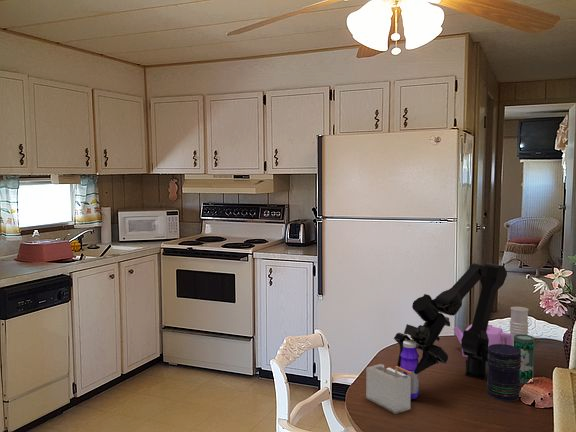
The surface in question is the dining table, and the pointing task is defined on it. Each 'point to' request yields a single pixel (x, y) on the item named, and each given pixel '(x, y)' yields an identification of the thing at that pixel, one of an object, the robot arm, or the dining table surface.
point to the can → (525, 356)
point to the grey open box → (388, 389)
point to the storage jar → (503, 372)
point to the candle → (519, 321)
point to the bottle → (410, 364)
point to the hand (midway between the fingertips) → (406, 369)
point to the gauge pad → (396, 372)
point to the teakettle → (489, 336)
